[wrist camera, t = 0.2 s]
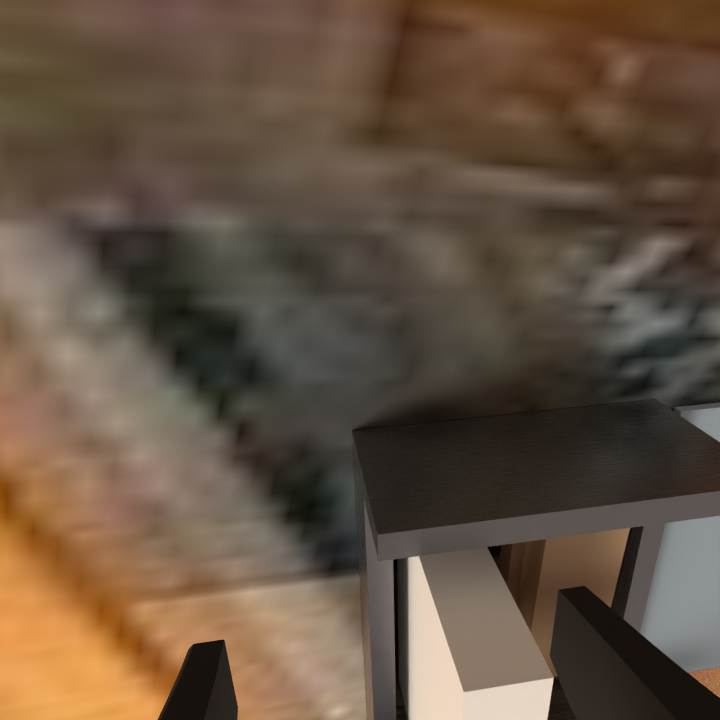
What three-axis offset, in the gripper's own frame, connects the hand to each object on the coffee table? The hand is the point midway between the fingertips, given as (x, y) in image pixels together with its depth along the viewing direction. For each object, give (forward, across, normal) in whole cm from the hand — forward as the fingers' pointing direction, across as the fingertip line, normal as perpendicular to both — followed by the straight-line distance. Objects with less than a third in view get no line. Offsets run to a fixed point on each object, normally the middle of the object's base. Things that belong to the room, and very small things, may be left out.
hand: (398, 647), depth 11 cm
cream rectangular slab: (+10, -3, +9) cm, 14 cm away
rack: (+10, -7, +9) cm, 15 cm away
